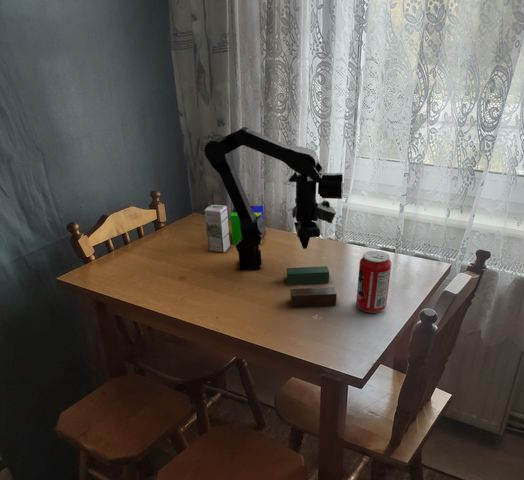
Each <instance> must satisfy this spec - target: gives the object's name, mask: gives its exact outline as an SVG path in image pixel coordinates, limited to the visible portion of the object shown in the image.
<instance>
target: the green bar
mask: <svg viewBox="0 0 524 480" xmlns="http://www.w3.org/2000/svg"><path fill="white" fill-rule="evenodd" d="M286 282H287V285H288V286H289V285H290V286H292V285H293V286H294V285H308V284H309V285H312V284H314V285H315V284H329V283H330V271H329V268H328V266H327V265H324V266H323V265H322V266H304V267H303V266H302V267H286Z"/></svg>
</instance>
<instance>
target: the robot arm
mask: <svg viewBox="0 0 524 480" xmlns="http://www.w3.org/2000/svg"><path fill="white" fill-rule="evenodd" d="M241 146H244V147H246V148H249V149H251V150H254V151H257V152H258V153H261V154H264V155H266V156H269V157H271V158H273V159H276V160H279V161H281V162H283V163H284V164H285V165H286V166H287V167H288V168H290V169H291V170H293V171H294V172H293V174H292V175H290V178H289V179H288V182H289V183H295V198H294V203H295V205H294V206H293V207H292V209H291V216H292V219H295V222H293V224H294V228H295V232H296V236H297V238H298V240H299V242H300V244H301V247H302V249H303V250H306V249H308V246H309V243H310V239H311V238H319V237H320V236H321V228H320V226H319V224H318V223H317V222H318V221H319V220H320V221H324V222H327V223H328V224H332V223H333V221H334V218H335V216H336V214H337V212H336V210H335V209H334V208H333V207H332V206H331V204H330V201H329V200H328V199H331V200H332V199H333V200H342V199H343V197H344V184H345V183H344V173H343V172H336V173H330V172H329V173H328V172H326V173H325V171H326V170H325V169H324V168H323V166H322V165H321V163H320V162H319V156H318V154H317V152H316V150H314V149H313V148H308V147H303V146H299V145H298V146H295V145H289V144H286V143H284V142H281V141H279V140H276V139H274V138H272V137H269V136H266V135H264V134H262V133H260V132H257V131H254V130H252V129H250V128H249V127H247V126H242V127H241V128H239V129H238V130H236V131H234V132H232V133H230V134H228V135H226V136H222V135H218V136H215V137H213V138H212V139H210V140H209V141H208V142H206V144H205V146H204V150H203V152H204V156H205V158H206V160H207V161H208V162H209V164H210V166H211V167H212V168H213V169H214V170H215V171H216V172H217V173H218V174H219V176H220V178H221V180H222V183H223V185H224V186H225V189H226V192H227V194H228V196H229V199H230V201H231V203H232V206H233V209H234V208H235V210H236V212H237V215H238V217H239V220H240V231H241V235H242V237H241V239H240V240H239V242H238V243H237V244H235V249H236V251H237V252H238V270H239V271H249V270H260V269H261V265H262V250H261V249H260V245H261V244H262V243H261V241H262V242H263V238H265V235H266V232H267V230H266V228H267V224H266V223H265V221H264V222H263V218H262V215H259V216H256V215H255V214H254V212H253V211H252V209H251V206H252V205H251V204H250V202H249V199H248V197H247V195H246V192H245V190H244V187H243V185H242V182H241V180H240V177H239V175H238V173H237V171H236V168H235V165H234V154H233V151H234V150H236V149H239V148H240V147H241ZM317 194H318V195H319V197H321V199H326V200H323V201H322V202H319V203H318V202H317ZM260 243H261V244H260Z"/></svg>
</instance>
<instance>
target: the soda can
mask: <svg viewBox="0 0 524 480" xmlns="http://www.w3.org/2000/svg"><path fill="white" fill-rule="evenodd" d="M391 270H392V261H391V259H390V255H389V254H388V253H386V252H384V251H381V250H369V251H366V252H364V253H363V255H362V257H361V258H360V259H359V267H358V278H357V291H356V299H355V300H356V302H355V305H356V307H357V308H358V309H359V310H361V311H363V312H365V313H368V314H375V313H380V312H382V311H384V310H385V309H386V308H387V304H388V295H389V287H390V281H391V280H390V279H391Z"/></svg>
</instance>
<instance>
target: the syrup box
mask: <svg viewBox="0 0 524 480" xmlns="http://www.w3.org/2000/svg"><path fill="white" fill-rule="evenodd" d="M204 217H205V227H206V236H207V237H206V238H207V245H208V246H207V248H208V252H216V253H225V252H226V251H227V250H228V249H229V248H230V247H231V242H230V233H229V232H230V230H229V216H228V206H227V205H222V204H221V205H220V204H210V205H208V206H207V207H206V208H205V209H204Z"/></svg>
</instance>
